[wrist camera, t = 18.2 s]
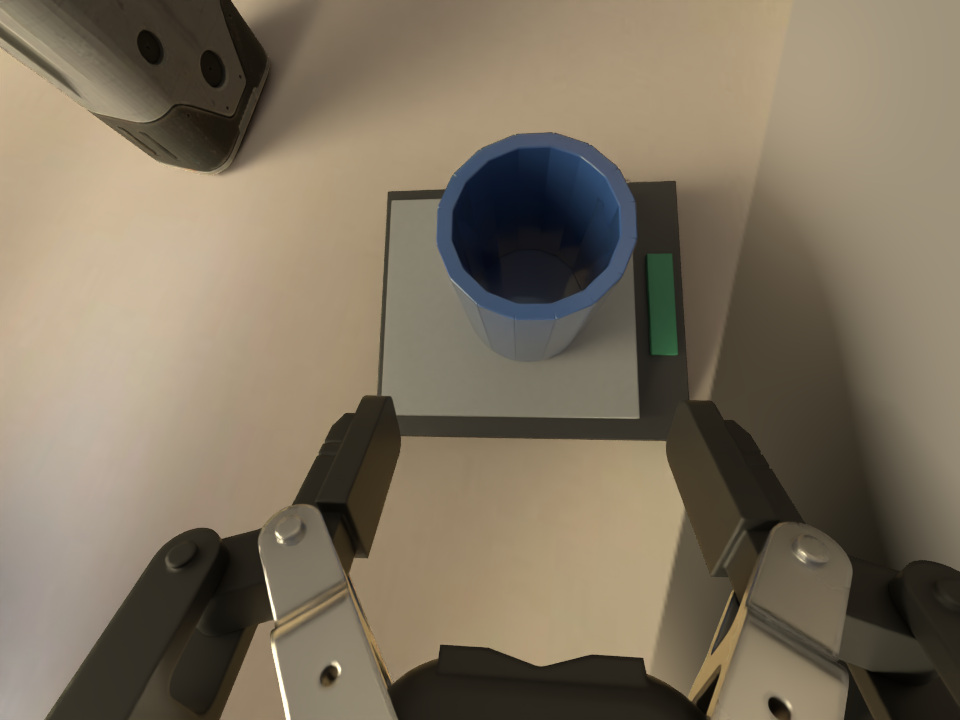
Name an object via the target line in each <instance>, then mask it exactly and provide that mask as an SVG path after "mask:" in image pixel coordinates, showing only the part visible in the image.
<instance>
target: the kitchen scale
mask: <svg viewBox="0 0 960 720" xmlns="http://www.w3.org/2000/svg"><path fill="white" fill-rule="evenodd" d="M627 185H628V187H629V189H630V191H631V192H632V194H633V196H634V198H635V202H636V208H637V230H638V239H637V243H636V246H635V248H634V251H633V253H632V256H631V258H630V261H629V263H628V266H627V268H626V271H625V273H624V275H623V276H622V278H621V280H620V281H619V282H618V284H617V285H616V287H615V288H614V289H613V291H612V292H611V294H610V295H609V296H608V298H607V299H606V301H605V302H604V304H603V305H602V306H601V308H600V309H599V311H598V312H597V313H596V315H595V316H594V318H593V319H592V320H591V322H590V323H589V325H588V326H587V328H586V329H585V330H584V332H583V333H582V334H581V335H580V336H579V337H578V338H577V339H576V341H575V342H574V343H573V344H572V345H571V346H570V347H568V348H567V349H566V350H565V351H563V352H562V353H560V354H558V355H556V356H554V357H552V358H549V359H546V360H542V361H537V362H520V361H515V360H511V359H508V358H505V357H503V356H501V355H499V354H497V353H495V352H494V351H492V350H491V349H490V348H488V347H487V346H486V345H485V344H484V343H483V342H482V341H481V339H480V338H479V337H478V336H477V335H476V333H475V332H474V330H473V328H472V325H471V323H470V321H469V319H468V317H467V315H466V313H465V310H464V308H463V306H462V304H461V302H460V300H459V298H458V295H457V293H456V291H455V289H454V287H453V285H452V283H451V281H450V278H449V276H448V274H447V271H446V269H445V266H444V264H443V261H442V259H441V256H440V254H439V251H438V249H437V244H436V226H437V209H438V205H439V203H440V201H441V199H442V196H443V194H444V192H445V190H419V191H392V192H388V201H387V220H386V239H385V258H384V276H383V295H382V314H381V333H380V352H379V371H378V390H377V396H391V397H392V399H393V403H394V407H395V412H396V416H397V420H398V425H399V429H400V434H401V436H424V437H478V438H533V439H587V440H642V441H667V437H668V434H669V431H670V427H671V424H672V421H673V418H674V414H675V411H676V408H677V405H678V403H679V402H680V401H681V400H689V390H688V374H687V358H686V341H685V325H684V309H683V293H682V277H681V261H680V244H679V228H678V212H677V196H676V182H675V181H664V182H636V183H627Z"/></svg>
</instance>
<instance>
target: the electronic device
mask: <svg viewBox="0 0 960 720" xmlns="http://www.w3.org/2000/svg"><path fill="white" fill-rule="evenodd" d="M0 47H1V48H2V49H3V50H5V51H6V52H7V53H9V54H10V55H12V56H13V57H14V58H16V59H17V60H18V61H20V62H21V63H23V64H24V65H25V66H27V67H29V68H30V69H31V70H33V71H34V72H36V73H37V74H38V75H40V76H41V77H42V78H44V79H45V80H47V81H48V82H49V83H51V84H52V85H53V86H55V87H56V88H58V89H59V90H60V91H62V92H63V93H64V94H66V95H67V96H69V97H70V98H71V99H73V100H74V101H75V102H77V103H78V104H80V105H81V106H82V107H84V108H85V109H87V110H88V111H89V112H91V113H92V114H93V115H95V116H96V117H97V118H99V119H100V120H102V121H103V122H104V123H106V124H107V125H108V126H110V127H111V128H113V129H114V130H115V131H117V132H118V133H119V134H121V135H122V136H123V137H125V138H126V139H128V140H129V141H130V142H132V143H133V144H134V145H136V146H137V147H139V148H140V149H141V150H143V151H144V152H145V153H147V154H148V155H150V156H151V157H152V158H154V159H155V160H156V161H158V162H159V163H161V164H163V165H166V166H169V167H173V168H177V169H181V170H186V171H190V172H194V173H198V174H203V175H213V174H217V173H219V172H221V171H223V170H225V169H226V168H227V167H228V166H229V165H230V164H231V163H232V161H233V159H234V158H235V156H236V153H237V151H238V148H239V146H240V143H241V141H242V138H243V136H244V133H245V131H246V128H247V126H248V123H249V121H250V118H251V116H252V113H253V111H254V108H255V106H256V103H257V100H258V98H259V95H260V93H261V90H262V88H263V85H264V83H265V80H266V78H267V75H268V71H269V67H270V61H269V57H268V55H267V53H266V52H265V50H264V49H263V47H262V46H261V44H260V43H259V41H258V40H257V38H256V37H255V35H254V34H253V32H252V31H251V30H250V28H249V27H248V25H247V24H246V22H245V21H244V19H243V18H242V16H241V15H240V13H239V12H238V10H237V9H236V7H235V6H234V5H233V3H232V2H231V0H0Z"/></svg>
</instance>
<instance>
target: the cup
mask: <svg viewBox="0 0 960 720" xmlns="http://www.w3.org/2000/svg"><path fill="white" fill-rule="evenodd" d="M637 239H638V230H637V208H636V202H635V198H634V196H633V194H632V192H631V191H630V189H629V187H628V185H627V183H626V181H625V179H624V177H623V175H622V173H621V171H620V169H618V167H617V166H616V165H615V164H614V163H612V162H611V161H610V160H609V159H608V158H606V157H605V156H604V155H603V154H601V153H600V152H599V151H598V150H597V149H595V148H594V147H593V146H592V145H589V144H588V143H585V142H582V141H579V140H576V139H573V138H570V137H567V136H564V135H561V134H557V133H554V134H553V133H552V132H548V133H527V134H516V135H512V136H509V137H507V138H505V139H502V140H500V141H498V142H495V143H493V144H490V145H488V146H486V147H483V148H481V150H478V151H477V152H476V153H475V154H474V155H473V156H472V157H471V158H470V159H469V160H468V161H467V162H466V163H465V164H463V165H462V166H461V167H460V168H459V169H458V170H457V171H456V172H455V173H454V175H452V177H451V179H450V181H449V184H448V186H447V188H446V190H445V192H444V194H443V196H442V199H441V201H440V203H439V205H438V209H437V226H436V244H437V249H438V251H439V254H440V256H441V259H442V261H443V264H444V266H445V269H446V271H447V274H448V276H449V278H450V281H451V283H452V285H453V287H454V289H455V291H456V293H457V295H458V298H459V300H460V302H461V304H462V306H463V308H464V310H465V313H466V315H467V317H468V319H469V321H470V323H471V325H472V328H473V330H474V332H475V333H476V335H477V336H478V337H479V338H480V339H481V341H482V342H483V343H484V344H485V345H486V346H487V347H488V348H490V349H491V350H492V351H494V352H495V353H497V354H499V355H501V356H503V357H505V358H508V359H511V360H515V361H520V362H537V361H542V360H546V359H549V358H552V357H554V356H556V355H558V354H560V353H562V352H563V351H565V350H566V349H567V348H568V347H570V346H571V345H572V344H573V343H574V342H575V341H576V339H577V338H578V337H579V336H580V335H581V334H582V333H583V332H584V330H585V329H586V328H587V326H588V325H589V323H590V322H591V320H592V319H593V318H594V316H595V315H596V313H597V312H598V311H599V309H600V308H601V306H602V305H603V304H604V302H605V301H606V299H607V298H608V296H609V295H610V294H611V292H612V291H613V289H614V288H615V287H616V285H617V284H618V282H619V281H620V280H621V278H622V276H623V275H624V273H625V271H626V268H627V266H628V263H629V261H630V258H631V256H632V253H633V251H634V248H635V246H636V243H637Z"/></svg>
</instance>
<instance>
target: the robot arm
mask: <svg viewBox="0 0 960 720" xmlns="http://www.w3.org/2000/svg"><path fill="white" fill-rule="evenodd" d="M400 447H401V434H400V429H399V425H398V420H397V416H396V412H395V407H394V403H393V399H392V397H391V396H364V397H363V398H362V400H361V402H360V404H359V406H358V408H357V410H356V413H345V414H344V415H343V416H342V417H341V418H340V419H339V420H338V421H337V422H336V423H335V424H334V425H333V426H332V427H331V429H330V431H329V433H328V435H327V437H326V439H325V444H323V445H322V447H321V449H320V451H319V456H317V457H316V459H315V461H314V463H313V465H312V467H311V469H310V471H309V473H308V475H307V477H306V479H305V481H304V483H303V485H302V487H301V489H300V491H299V493H298V495H297V497H296V499H295V501H294V502H293V504H292V505H291V506H289V507H287V508H284V509H282V510H281V511H279V512H277V513H276V514H275V515H273V516H272V517H271V518H270V519H269V520H268V521H267V522H266V524H265V525H264V527H263V528H261V529H258V530H255V531H251V532H247V533H243V534H239V535H235V536H231V537H228V538H224V539H221V538H220V537H219V535H218V534H217V533H216V532H215V531H214V530H212V529H209V528H196V529H192V530H189V531H186V532H184V533H182V534H179V535H178V536H176V537H174V538H173V539H171V540H170V541H169V542H167V543H166V544H165V545H164V546H163V547H162V548H161V549H160V550H159V551H158V552H157V553H156V555H155V556H154V557H153V559H152V560H151V562H150V563H149V565H148V566H147V568H146V569H145V571H144V572H143V574H142V575H141V577H140V578H139V580H138V581H137V583H136V584H135V586H134V587H133V589H132V590H131V592H130V593H129V595H128V596H127V597H126V599H125V600H124V602H123V603H122V605H121V606H120V608H119V609H118V611H117V612H116V614H115V615H114V617H113V618H112V620H111V621H110V623H109V624H108V626H107V627H106V629H105V630H104V632H103V633H102V635H101V636H100V638H99V639H98V641H97V642H96V644H95V645H94V647H93V648H92V650H91V651H90V653H89V654H88V656H87V657H86V659H85V660H84V662H83V663H82V665H81V666H80V668H79V669H78V671H77V672H76V674H75V675H74V677H73V678H72V680H71V681H70V682H69V684H68V685H67V687H66V688H65V690H64V691H63V693H62V694H61V696H60V697H59V699H58V700H57V702H56V703H55V705H54V706H53V708H52V709H51V711H50V712H49V714H48V715H47V717H46V718H45V720H219V719H220V717H221V714H222V712H223V709H224V707H225V705H226V702H227V700H228V697H229V695H230V692H231V690H232V687H233V685H234V682H235V680H236V677H237V675H238V672H239V670H240V668H241V665H242V663H243V660H244V658H245V655H246V653H247V650H248V648H249V645H250V643H251V640H252V638H253V635H254V633H255V631H256V628H257V626H258V624H260V623H263V622H266V621H270V620H273V619H274V622H275V629H273V630H272V631H271V645H272V651H273V656H274V661H275V666H276V671H277V675H278V680H279V685H280V690H281V695H282V700H283V705H284V710H285V715H286V720H844V714H845V706H846V700H847V693H848V685H849V677H848V672H847V670H846V668H845V667H843V666H842V665H840V664H839V661H838V659H840V660H843V661H845V662H846V663H847V665H848V667H849V669H850V671H851V673H852V675H853V677H854V680H855V682H856V684H857V686H858V688H859V690H860V692H861V694H862V696H863V698H864V700H865V702H866V704H867V706H868V708H869V710H870V712H871V714H872V716H873V718H874V720H960V572H959V571H957V570H955V569H953V568H951V567H948V566H946V565H943V564H940V563H936V562H932V561H925V560H924V561H923V560H919V561H913V562H911V563H909V564H908V565H907V566H906V567H905V568H904V569H903V570H902V571H897V570H894V569H891V568H887V567H884V566H881V565H877V564H874V563H871V562H868V561H864V560H861V559H858V558H855V557H852V556H849V555H847V554H846V553H845V552H844V550H843V549H842V548H841V547H840V546H839V545H838V544H837V543H836V542H835V541H834V540H833V539H831V538H830V537H829V536H828V535H826V534H824V533H823V532H821V531H820V530H818V529H816V528H814V527H811V526H809V525H806V524H805V523H804V521H803V519H802V518H801V516H800V514H799V513H798V511H797V509H796V508H795V506H794V505H793V503H792V501H791V500H790V498H789V497H788V495H787V493H786V492H785V490H784V488H783V487H782V485H781V484H780V482H779V480H778V479H777V477H776V475H775V474H774V472H773V471H772V469H769V464H768V463H767V461H766V459H765V458H764V456H763V455H761V454H760V452H761V451H760V450H759V448H758V446H757V445H756V443H755V442H754V440H753V438H752V437H751V435H750V434H749V433H747V432H746V431H745V430H744V429H743V428H742V427H741V426H739V425H738V424H737V423H736V422H735V421H733V420H723V418H722V416H721V414H720V412H719V411H718V409H717V407H716V405H715V404H714V403H713V402H712V401H699V400H681V401H680V402H679V403H678V405H677V408H676V411H675V414H674V418H673V421H672V424H671V427H670V431H669V434H668V437H667V441H666V454H667V459H668V463H669V465H670V468H671V471H672V473H673V476H674V479H675V481H676V484H677V487H678V489H679V492H680V495H681V498H682V500H683V503H684V506H685V508H686V511H687V514H688V516H689V519H690V522H691V524H692V527H693V530H694V532H695V535H696V538H697V540H698V543H699V546H700V549H701V551H702V554H703V557H704V559H705V562H706V565H707V567H708V570H709V573H710V575H711V576H714V577H729V579H730V581H731V584H732V587H733V591H732V592H731V594H730V596H729V599H728V602H727V604H726V607H725V610H724V612H723V615H722V617H721V620H720V623H719V625H718V628H717V630H716V633H715V636H714V638H713V641H712V643H711V646H710V649H709V652H708V654H707V656H706V659H705V661H704V664H703V666H702V668H701V670H700V672H699V674H698V676H697V678H696V680H695V682H694V684H693V686H692V688H691V691H690V693H689V695H688V698H686V697H685V696H684V695H683V694H682V693H680V692H679V691H677V690H676V689H674V688H673V687H671V686H670V685H668V684H667V683H665V682H663V681H661V680H659V679H657V678H655V677H653V676H651V675H648V674H646V670H645V665H644V660H643V658H636V657H620V656H605V655H588V656H584V657H580V658H576V659H572V660H568V661H564V662H560V663H556V664H552V665H548V666H542V667H541V666H535V665H532V664H530V663H527V662H525V661H522V660H519V659H517V658H514V657H511V656H509V655H506V654H503V653H501V652H498V651H496V650H493V649H490V648H484V647H468V646H453V645H440V651H439V658H438V659H436V660H432V661H429V662H427V663H424V664H422V665H419V666H418V667H416V668H414V669H412V670H411V671H409V672H407V673H406V674H405V675H403V676H402V677H401V678H399V679H398V680H397V681H396V682H395V683H394V684H393V683H392V680H391V678H390V675H389V673H388V670H387V668H386V665H385V663H384V660H383V658H382V656H381V653H380V651H379V649H378V646H377V644H376V641H375V639H374V636H373V634H372V631H371V629H370V626H369V624H368V621H367V619H366V616H365V613H364V611H363V608H362V606H361V603H360V601H359V598H358V596H357V593H356V590H355V588H354V585H353V583H352V580H351V578H350V575H349V571H350V568H351V565H352V562H353V559H354V558H368V556H369V553H370V550H371V546H372V543H373V540H374V536H375V533H376V530H377V526H378V523H379V520H380V516H381V513H382V510H383V506H384V503H385V500H386V496H387V493H388V490H389V486H390V483H391V480H392V476H393V473H394V470H395V466H396V463H397V460H398V456H399V453H400Z"/></svg>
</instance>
